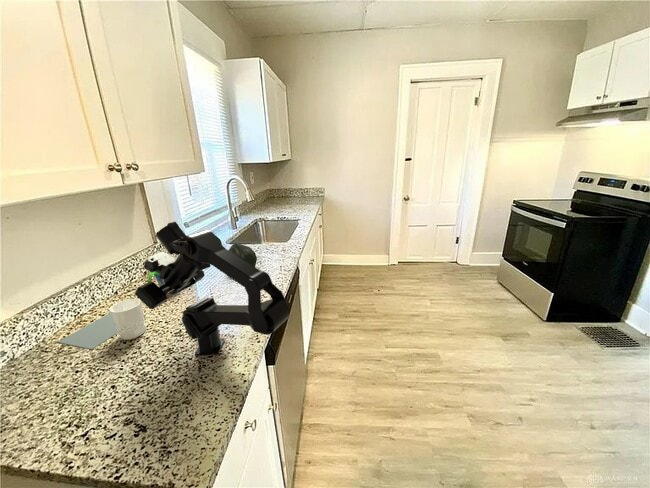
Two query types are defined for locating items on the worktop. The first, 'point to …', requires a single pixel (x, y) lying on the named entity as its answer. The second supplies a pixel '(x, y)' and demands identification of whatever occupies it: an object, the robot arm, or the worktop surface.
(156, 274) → the snack cup
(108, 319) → the mat
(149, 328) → the worktop surface
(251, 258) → the squash
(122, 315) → the white cup
